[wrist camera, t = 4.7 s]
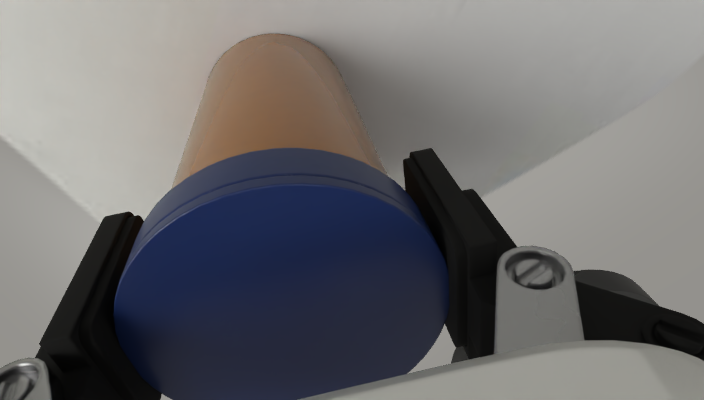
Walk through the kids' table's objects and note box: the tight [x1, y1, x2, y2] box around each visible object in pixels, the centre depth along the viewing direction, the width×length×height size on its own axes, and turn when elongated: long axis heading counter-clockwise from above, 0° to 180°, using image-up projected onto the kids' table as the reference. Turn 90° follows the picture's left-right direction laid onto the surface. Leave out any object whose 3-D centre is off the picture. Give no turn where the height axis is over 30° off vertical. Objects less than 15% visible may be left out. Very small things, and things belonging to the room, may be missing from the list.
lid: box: [113, 148, 449, 400], centre depth 10 cm, size 7×7×1 cm
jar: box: [171, 34, 388, 189], centre depth 14 cm, size 6×6×12 cm
